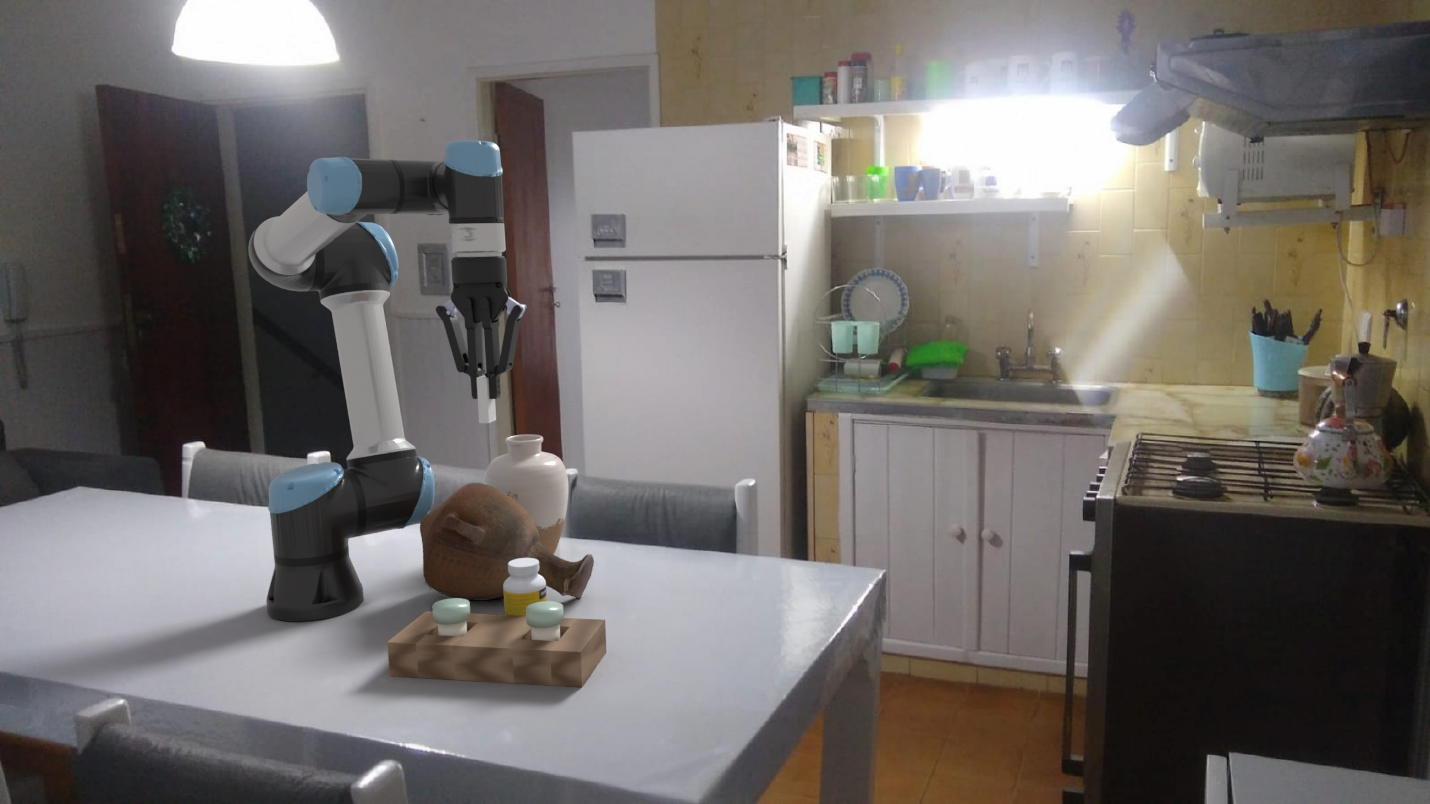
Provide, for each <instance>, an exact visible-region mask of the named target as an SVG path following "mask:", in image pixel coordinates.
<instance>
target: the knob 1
mask: <svg viewBox="0 0 1430 804" xmlns="http://www.w3.org/2000/svg"><path fill="white" fill-rule="evenodd" d="M470 605H471V604H470V600H467V599H462V598H454V597H452V598H446V599H441V600H438V601H436V602H433V604H432V605H431V606H432V607H431V609H432V612H433V621H434V622H435V623H438V635H444V636H464V635H465V634H466V633H467V622H466V620H468V619H469V618H470V614H471V606H470Z"/></svg>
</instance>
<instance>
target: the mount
mask: <svg viewBox="0 0 1430 804" xmlns="http://www.w3.org/2000/svg"><path fill="white" fill-rule="evenodd" d="M466 622H467V633H466V634H465V635H464V636H444V635H438V623H435V622H434V621H433V611H424V612H423V613H422V614H420V615H419V616H418V617H417V618H415V619H414V620H413V621H412V622H411V623H409V624H408V625H407V626H405V627H404V628H403V629H402V630H401V631H399V632H398V633H397V634H395V635H394V636H393V637H392V638H390V639H389V640H388V641H387V642H386V643H387V644H386V645H387V655H388V656H387V657H388V671H389V677H397V678H398V677H401V678H415V679H416V678H418V679H434V680H435V679H437V680H451V681H452V680H454V681H470V682H471V681H472V682H474V681H475V682H485V683H486V682H488V683H505V684H506V683H507V684H519V685H538V686H541V685H543V686H557V687H575V688H583V686H585V684H586V683H587V681H588V679H589V678H590V676H591V675H592V674H593V672H594V671H595V670H596V668H597V667H598V665H599V664H600V662H601V661H602V660H603V658H604V657H605V655H606V654H607V634H606V633H607V632H606V630H607V629H606V619H599V618H598V619H597V618H596V619H595V618H575V617H564V621H563V622H562V623H561V624H560V639H559V641H544V640H532V636H531V626H529V625H527V623H526V616H513V615H505V614H492V613H491V614H488V613H487V614H485V613H470V618H469V619H468V620H466Z"/></svg>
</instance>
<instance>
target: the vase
mask: <svg viewBox="0 0 1430 804" xmlns="http://www.w3.org/2000/svg"><path fill="white" fill-rule="evenodd" d="M504 442H505V444H506V445H507V453H505V454H502V455H498V456H497V457H494V459H493V460H491V461H490V462H489V464H488V466H487V467H486V471H485V474H484V482H483V484H485V485H489V486H492V487H494V488H496V489H498V490H500V491H501V492H503V493H505V494H506V495H508V496H509V497H511V498H512V499H514V500H515V501H516V502H518V503H519V504H520V505H521V506H522V507H523V508H524V509H525V510H526V511H527V512H528V513H529V515H530V516H531V518H532V519H533V521H534V523H535V525H536V528H537V530H538V533H539V538H540V543H541V545H542V546H543V548H545V549H546V550H547V551H548V552H550V553H551V554H553V555H555V552H556V551H557V549H558V545H559V543H560V540H561V537H562V534H563V531H564V525H565V521H566V515H567V509H568V503H569V502H568V501H569V478H568V473H567V469H566V466H565V465H564V462H563V461H562V459H561V458H560V457H559V456H557V455H555V454H554V453H551V452H545V451H542V443H543V442H544V437H543V436H542V435H540V434H532V433H531V434H517V435H512V436H508V437H506V438H505V439H504Z"/></svg>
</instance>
